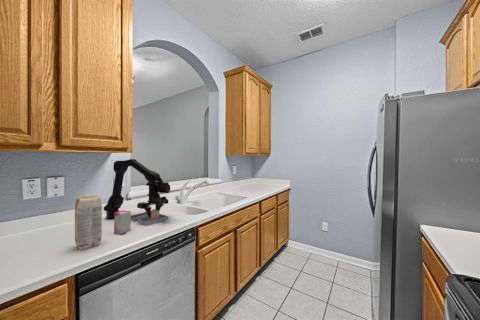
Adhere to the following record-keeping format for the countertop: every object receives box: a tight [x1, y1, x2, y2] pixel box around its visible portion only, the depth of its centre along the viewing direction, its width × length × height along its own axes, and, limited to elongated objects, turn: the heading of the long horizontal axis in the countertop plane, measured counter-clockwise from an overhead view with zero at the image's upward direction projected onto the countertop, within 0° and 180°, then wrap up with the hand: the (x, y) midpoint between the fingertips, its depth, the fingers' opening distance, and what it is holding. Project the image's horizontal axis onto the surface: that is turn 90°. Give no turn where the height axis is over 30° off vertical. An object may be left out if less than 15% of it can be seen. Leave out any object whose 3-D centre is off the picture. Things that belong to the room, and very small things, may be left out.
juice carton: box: [74, 193, 103, 251], centre depth 90 cm, size 9×8×24 cm
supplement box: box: [113, 210, 132, 236], centre depth 106 cm, size 6×6×12 cm
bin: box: [131, 211, 148, 222], centre depth 131 cm, size 15×10×2 cm
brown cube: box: [148, 208, 160, 220], centre depth 124 cm, size 5×5×5 cm
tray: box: [137, 213, 169, 227], centre depth 124 cm, size 15×10×2 cm
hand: (153, 216), depth 124 cm, fingers closed on brown cube, 5 cm apart
